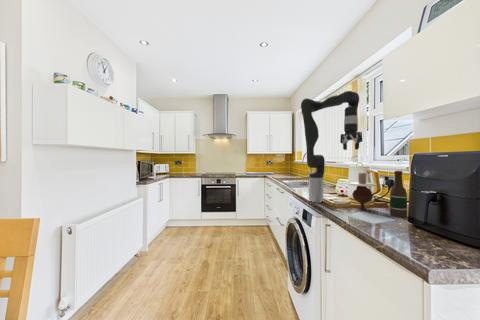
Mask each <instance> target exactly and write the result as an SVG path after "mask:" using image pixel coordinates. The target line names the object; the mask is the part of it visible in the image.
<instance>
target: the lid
mask: <svg viewBox="0 0 480 320" xmlns="http://www.w3.org/2000/svg"><path fill="white" fill-rule="evenodd" d="M357 175H358V178H357V179H358V180H357V181H350V182H349V183H348V184H349V185H350V186H355V187H357V186H366V187H376V186H377V183H375V182H367V173H366V172H358V174H357Z"/></svg>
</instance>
